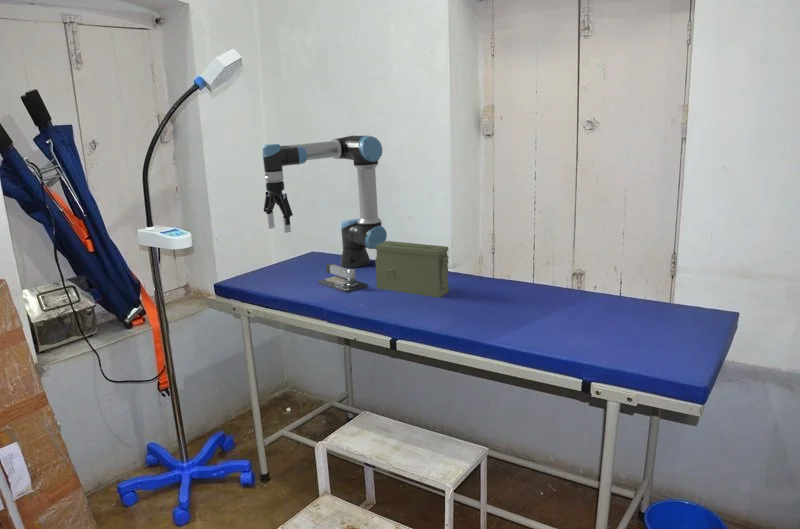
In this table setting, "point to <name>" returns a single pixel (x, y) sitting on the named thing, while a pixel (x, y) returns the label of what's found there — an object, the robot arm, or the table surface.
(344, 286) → the plate
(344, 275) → the grey long bar
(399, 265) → the ammunition box
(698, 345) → the table surface
